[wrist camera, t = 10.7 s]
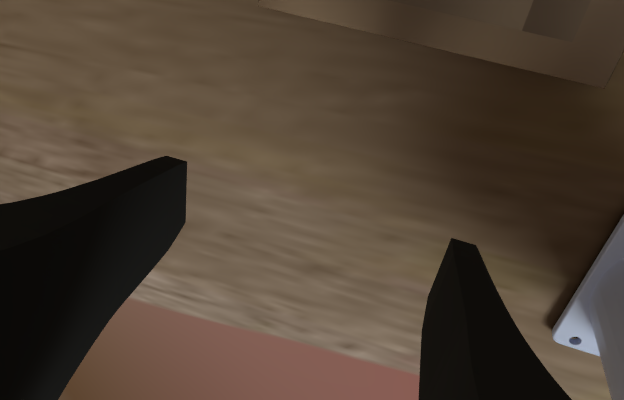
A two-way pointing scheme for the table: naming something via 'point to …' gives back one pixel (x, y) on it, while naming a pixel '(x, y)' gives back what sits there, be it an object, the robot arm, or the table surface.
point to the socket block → (491, 30)
